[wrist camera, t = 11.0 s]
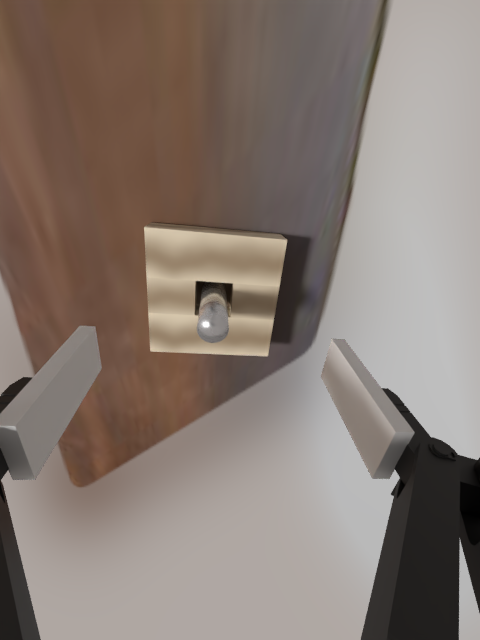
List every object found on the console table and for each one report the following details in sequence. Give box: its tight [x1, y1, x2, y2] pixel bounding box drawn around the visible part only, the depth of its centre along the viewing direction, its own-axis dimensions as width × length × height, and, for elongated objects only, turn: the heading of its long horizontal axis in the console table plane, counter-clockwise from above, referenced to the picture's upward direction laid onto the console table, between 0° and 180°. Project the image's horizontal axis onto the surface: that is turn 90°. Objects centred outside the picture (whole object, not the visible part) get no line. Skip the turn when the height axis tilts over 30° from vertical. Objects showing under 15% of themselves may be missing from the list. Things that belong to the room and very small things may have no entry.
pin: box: [197, 282, 229, 343], centre depth 33 cm, size 3×3×11 cm
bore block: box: [144, 222, 287, 356], centre depth 37 cm, size 16×16×4 cm
